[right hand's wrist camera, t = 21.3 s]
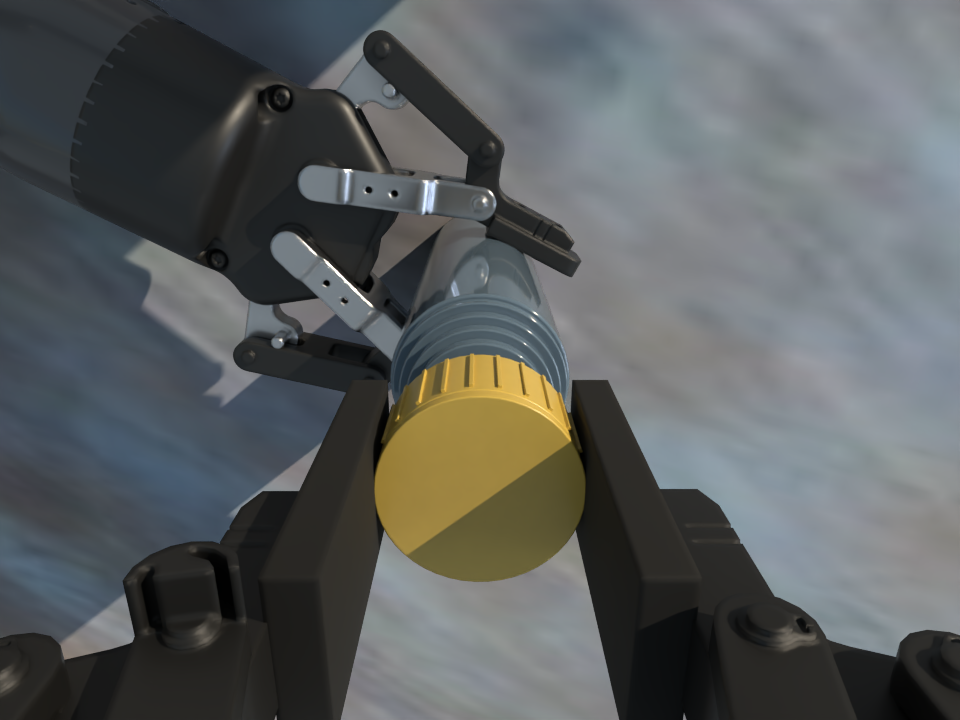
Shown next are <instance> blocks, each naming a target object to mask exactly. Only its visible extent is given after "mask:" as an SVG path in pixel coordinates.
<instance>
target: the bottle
mask: <svg viewBox="0 0 960 720" xmlns="http://www.w3.org/2000/svg"><path fill="white" fill-rule="evenodd" d="M470 354H474V355H492V356H496V355H500V357H503V358H508V359H511V360H514V361H516V362H519V363H520V362H523V363H524V364H525V366H527V367H529V368H531V369H533V370H534V371H535V372H537V373H538V374H540V375H541V376H542V375H544V376H545V377H546V380H547V381H548V382H549V383H550V384H551V385H552V387H553V388H554V389H555V390H556V392H557V393H559V392H560V393H561V395H562V398H563V402H564V404H565V401H566V398H567V394H568V388H569V364H568V360H567V356H566V352H565V349H564V346H563V343H562V341H561V338H560V335H559V332H558V330H557V327H556V324H555V321H554V318H553V316H552V313H551V310H550V307H549V304H548V302H547V299H546V296H545V293H544V290H543V288H542V285H541V282H540V279H539V277H538V274H537V271H536V268H535V265H534V263H533V260H532V257H530V256H528V255H526V254H524V253H522V252H520V251H519V250H517V249H515V248H513V247H511V246H510V245H508V244H505V243H503V242H501V241H499V240H497V239H496V238H494V237H492V236H490V235H488V234H486V226H485V225H483V224H481V223H479V222H477V221H475V220H468V219H461V218H453V219H451V220H450V221H449V222H447V223H446V224H445V225H444V226H443V227H442V228H441V230H440V231H439V233H438V234H437V236H436V238H435V240H434V242H433V245H432V248H431V251H430V253H429V256H428V259H427V262H426V265H425V267H424V270H423V273H422V276H421V279H420V281H419V284H418V287H417V290H416V293H415V295H414V298H413V301H412V304H411V307H410V309H409V312H408V315H407V318H406V321H405V323H404V326H403V329H402V332H401V335H400V337H399V340H398V343H397V346H396V349H395V351H394V354H393V359H392V363H391V373H390V380H391V390H392V394H393V399H394V402H395V404H396V403H397V401H398V399H399V397H400V396H401V394H402V393H403V389H404V387H405V385H409V384H410V383H411V382H412V381H413V380H414V379H415V378H416V377H418V376H419V375H420V374H422V371H423V370H424V369H426V370H427V369H429V368H431V367H433V366H434V365H436V364H439V363H441V362H444V361H445V359H447V358H448V359H453V358H456V357H460V356H468V355H470Z"/></svg>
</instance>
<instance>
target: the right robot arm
mask: <svg viewBox="0 0 960 720" xmlns="http://www.w3.org/2000/svg"><path fill="white" fill-rule="evenodd" d="M571 415H572V418H573V422H574V425H575V428H576V431H577V435H578V438H579V441H580V445H581V448H582V451H583V452H581V453H580V456H581V459H582V463H583V467H584V470H585V475H586V487H585V503H584V511H583V514H582V516H581V519H580V522H579V524H578V526H577V528H576V533H577V538H578V542H579V546H580V551H581V555H582V559H583V564H584V568H585V572H586V577H587V581H588V585H589V590H590V594H591V599H592V603H593V607H594V612H595V616H596V620H597V625H598V629H599V633H600V638H601V642H602V646H603V651H604V655H605V660H606V664H607V668H608V673H609V677H610V681H611V686H612V690H613V694H614V699H615V703H616V708H617V712H618V716H619V720H683V715H684V714H685V716H686V719H687V720H960V635H957V634H954V633H951V632H942V631H933V630H924V631H919V632H914V633H910V634H909V635H908V636H907V637H906V638H904V639H903V640H902V641H901V642H900V645H899V649H898V652H897V656H896V657H893V656H889V655H884V654H880V653H875V652H871V651H867V650H862V649H858V648H853V647H849V646H846V645H842V644H839V643H836V642H832V641H830V640H828V639H826V636H825V634H824V633H823V631H822V630H821V628H820V627H819V625H818V624H817V622H816V621H815V620H814V619H813V618H812V617H811V616H809V615H808V614H807V613H806V612H804V611H803V610H802V609H801V608H799V607H797V606H795V605H793V604H791V603H789V602H787V601H785V600H783V599H781V598H777V597H775V596H774V595H773V593H772V592H771V590H770V588H769V587H768V585H767V583H766V582H765V580H764V578H763V577H762V575H761V573H760V572H759V570H758V569H757V567H756V565H755V564H754V562H753V560H752V559H751V557H750V555H749V554H748V552H747V550H746V549H745V547H744V546H743V544H740V539H739V537H738V536H737V534H736V532H735V531H734V529H733V528H731V526H730V523H729V521H728V519H727V518H726V516H725V514H724V513H723V511H722V509H721V508H720V506H719V505H718V504H717V503H715V502H714V501H713V500H711V499H710V498H708V497H707V496H706V495H704V494H703V493H702V492H700V491H699V490H698V489H659V487H658V485H657V483H656V480H655V478H654V476H653V474H652V472H651V470H650V468H649V466H648V464H647V462H646V459H645V457H644V455H643V453H642V451H641V449H640V447H639V445H638V443H637V441H636V439H635V436H634V434H633V432H632V430H631V428H630V426H629V424H628V422H627V420H626V418H625V415H624V413H623V411H622V409H621V407H620V405H619V403H618V401H617V399H616V397H615V395H614V392H613V390H612V388H611V386H610V384H609V382H608V380H572V398H571ZM388 417H389V401H388V381H387V380H352V382H351V384H350V386H349V388H348V390H347V392H346V394H345V396H344V398H343V400H342V403H341V405H340V407H339V409H338V411H337V413H336V415H335V417H334V419H333V421H332V423H331V426H330V428H329V430H328V432H327V434H326V436H325V438H324V440H323V442H322V444H321V447H320V449H319V451H318V453H317V455H316V457H315V459H314V461H313V463H312V465H311V467H310V470H309V472H308V474H307V476H306V478H305V480H304V482H303V484H302V486H301V488H300V491H262V492H261V493H260V494H258V495H257V496H256V497H254V498H253V499H252V500H250V501H249V502H248V503H246V504H245V505H244V506H242V507H241V508H240V510H239V512H238V513H237V515H236V517H235V518H234V520H233V522H232V523H231V525H230V529H229V530H227V532H226V533H225V535H224V537H223V538H222V540H221V542H220V544H219V543H216V542H188V543H183V544H179V545H174V546H170V547H168V548H165V549H163V550H161V551H158V552H156V553H154V554H151V555H149V556H148V557H146V558H145V559H144V560H142V561H141V562H139V563H138V564H137V565H135V566H134V567H133V568H132V569H131V570H130V572H129V573H128V574H127V576H126V577H125V578H124V580H123V585H124V589H125V594H126V598H127V603H128V607H129V612H130V616H131V621H132V625H133V630H134V634H135V637H134V640H133V642H132V643H130V644H127V645H123V646H120V647H117V648H114V649H110V650H106V651H101V652H97V653H92V654H88V655H84V656H79V657H75V658H71V659H66V660H64V657H63V653H62V649H61V646H60V645H59V644H58V643H57V642H56V641H55V640H54V639H53V638H52V637H51V636H47V635H42V634H37V633H27V634H17V635H10V636H7V637H3V638H0V720H274V719H275V716H277V720H341V715H342V711H343V707H344V702H345V698H346V694H347V689H348V685H349V681H350V676H351V672H352V668H353V663H354V659H355V654H356V650H357V646H358V641H359V637H360V633H361V628H362V624H363V620H364V615H365V611H366V607H367V602H368V598H369V593H370V589H371V585H372V580H373V576H374V572H375V567H376V563H377V559H378V554H379V550H380V546H381V541H382V537H383V532H384V528H383V526H382V524H381V522H380V519H379V517H378V514H377V511H376V506H375V491H374V474H375V470H376V466H377V462H378V458H379V455H380V452H381V448H382V445H383V444H382V443H381V440H382V437H383V433H384V430H385V427H386V423H387V420H388Z"/></svg>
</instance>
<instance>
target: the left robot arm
mask: <svg viewBox="0 0 960 720" xmlns="http://www.w3.org/2000/svg"><path fill="white" fill-rule="evenodd" d="M363 52H364V55H363V56H362V57H361V59H360V60H359V61H358V62H357V64H356V65H355V66H354V68H353V69H352V70H351V72H350V73H349V74H348V76H347V77H346V78H345V80H344V81H343V82H342V83H341V85H340V86H339V87H338V89H337V90H331V89H309V88H305V87H303V86H300V85H298V84H296V83H294V82H292V81H290V80H288V79H287V78H285V77H283V76H281V75H279V74H277V73H275V72H274V71H272V70H270V69H268V68H266V67H264V66H262V65H261V64H259V63H257V62H255V61H253V60H251V59H249V58H247V57H246V56H244V55H242V54H240V53H238V52H236V51H234V50H233V49H231V48H229V47H227V46H225V45H223V44H221V43H220V42H218V41H216V40H214V39H212V38H210V37H208V36H206V35H205V34H203V33H201V32H199V31H197V30H195V29H194V28H192V27H190V26H188V25H186V24H184V23H182V22H180V21H179V20H177V19H174V18H172V17H171V16H169V15H168V13H167V12H165V11H164V10H163V9H161V8H160V7H158V6H157V5H155V4H154V3H152V2H150V1H148V0H0V167H2V168H3V169H5V170H6V171H8V172H10V173H12V174H13V175H15V176H17V177H19V178H21V179H23V180H25V181H27V182H29V183H30V184H33V185H35V186H37V187H39V188H41V189H43V190H45V191H47V192H49V193H51V194H53V195H55V196H58V197H60V198H62V199H64V200H66V201H68V202H70V203H72V204H74V205H76V206H78V207H80V208H83V209H85V210H87V211H89V212H91V213H93V214H95V215H97V216H99V217H101V218H104V219H106V220H108V221H110V222H112V223H114V224H116V225H118V226H120V227H122V228H124V229H126V230H128V231H130V232H133V233H135V234H137V235H139V236H141V237H143V238H145V239H147V240H149V241H151V242H153V243H156V244H158V245H160V246H162V247H164V248H166V249H168V250H170V251H172V252H174V253H176V254H178V255H181V256H183V257H185V258H187V259H189V260H191V261H193V262H195V263H198V264H200V265H203V266H205V267H208V268H210V269H213V270H215V271H218V272H219V273H221V274H223V275H224V276H225V277H227V278H228V279H229V280H230V281H231V282H232V283H233V284H234V285H235V286H236V288H237V289H238V290H239V292H240V293H241V294H242V295H243V296H244V297H245V298H247V299H248V300H249V307H248V315H247V323H246V332H245V338H244V340H243V341H242V342H241V343H240V344H239V345H238V346H237V347H236V348H235V350H234V352H233V358H234V361H235V363H236V364H237V366H238V367H240V368H241V369H243V370H245V371H249V372H254V373H259V374H263V375H268V376H273V377H277V378H282V379H287V380H291V381H296V382H301V383H305V384H310V385H315V386H319V387H324V388H329V389H333V390H338V391H343V392H347V390H348V388H349V386H350V384H351V382H352V380H387V381H388V383H389V382H390V381H391V380H390V373H391V363H392V359H393V354H394V351H395V349H396V346H397V343H398V340H399V337H400V335H401V332H402V329H403V326H404V323H405V321H406V318H407V315H408V312H407V311H406V310H405V309H404V308H403V307H402V306H401V305H400V304H399V303H398V302H397V301H396V300H395V299H394V298H393V297H392V295H391V294H390V291H389V289H388V288H387V287H386V285H385V284H384V283H383V282H382V281H381V280H380V279H379V278H378V277H377V276H376V275H375V274H374V273H373V272H372V271H371V270H372V268H373V266H374V264H375V262H376V260H377V258H378V254H379V248H380V242H381V237H382V236H383V235H384V234H385V233H386V232H387V231H388V229H389V228H390V227H391V226H392V224H393V223H394V222H395V220H396V218H397V215H398V213H399V212H403V213H410V214H418V215H440V216H447V217H454V218H461V219H468V220H475V221H477V222H479V223H481V224H483V225H485V226H486V234H488V235H490V236H492V237H494V238H496V239H497V240H499V241H501V242H503V243H505V244H508V245H510V246H511V247H513V248H515V249H517V250H519V251H520V252H522V253H524V254H526V255H528V256H530V257H532V258H534V259H536V260H538V261H540V262H541V263H543V264H545V265H547V266H549V267H551V268H553V269H555V270H557V271H559V272H561V273H563V274H565V275H567V276H569V277H572V276H573V275H574V273H575V271H576V270H577V268H578V266H579V264H580V263H581V260H580V258H579V257H578V255H577V254H576V253H575V252H573V251H572V250H570V249H571V248H572V246H573V244H574V241H573V239H572V238H571V237H570V235H569V234H568V233H567V232H566V230H565V229H564V228H563V227H562V226H561V225H560V224H558V223H556V222H554V221H552V220H550V219H548V218H547V217H545V216H543V215H541V214H539V213H537V212H536V211H534V210H532V209H530V208H528V207H526V206H524V205H523V204H521V203H519V202H517V201H515V200H513V199H511V198H509V197H508V196H506V195H505V194H504V193H503V192H502V190H501V189H500V186H499V177H500V169H501V162H502V158H503V155H504V144H503V141H502V140H501V138H500V137H499V136H498V135H497V134H496V133H495V132H494V131H493V130H492V129H491V128H490V127H489V126H488V125H487V124H486V123H485V122H484V121H483V120H482V119H481V118H480V117H479V116H477V115H476V114H475V113H474V112H473V111H472V110H471V109H470V108H469V107H468V106H467V105H466V104H465V103H464V102H463V101H462V100H461V99H460V98H459V97H457V96H456V95H455V94H454V93H453V92H452V91H451V90H450V89H449V88H448V87H447V86H446V85H445V84H444V83H443V82H442V81H441V80H440V79H439V78H437V77H436V76H435V75H434V74H433V73H432V72H431V71H430V70H429V69H428V68H427V67H426V66H425V65H424V64H423V63H422V62H421V61H420V60H419V59H418V58H416V57H415V56H414V55H413V54H412V53H411V52H410V51H409V50H408V49H407V48H406V47H405V46H404V45H403V44H402V43H401V42H400V41H398V40H397V39H396V38H395V37H394V36H393V35H392V34H390V33H389V32H386V31H383V30H378V31H374V32H372V33H371V34H369V35H368V37H367V38H366V40H365V42H364V46H363ZM370 102H376V103H378V104H380V105H381V106H383V107H385V108H387V109H400V108H403V107H404V106H405V105H406V104H407V103H408V102H411V103H412V104H413V105H414V106H415V107H416V108H417V109H418V110H419V111H420V112H421V113H422V114H423V115H425V116H426V117H427V118H428V119H429V120H430V121H431V122H432V123H433V124H434V125H435V126H436V127H437V128H439V129H440V130H441V131H442V132H443V133H444V134H445V135H446V136H447V137H448V138H449V139H450V140H451V141H453V142H454V143H455V144H456V145H457V146H458V147H459V148H460V149H461V150H462V151H463V152H464V153H465V154H467V155H468V164H467V172H466V178H460V177H453V176H446V175H440V174H436V173H432V172H426V171H420V170H413V169H406V168H399V167H392V166H391V165H390V163H389V161H388V159H387V157H386V155H385V153H384V151H383V150H382V148H381V146H380V144H379V142H378V140H377V138H376V136H375V134H374V132H373V130H372V129H371V127H370V125H369V123H368V121H367V119H366V117H365V115H364V113H363V111H362V109H361V108H362V107H363V106H364V105H365V104H367V103H370ZM317 298H320V299H321V300H322V301H323V302H324V303H325V304H326V305H327V306H328V307H329V308H330V309H331V310H332V311H334V312H335V313H336V314H337V315H338V316H339V317H340V318H341V319H342V320H343V321H344V322H345V323H346V324H347V325H348V326H349V327H350V328H352V329H353V330H355V331H357V332H361V333H362V334H364V335H365V336H366V337H367V338H368V339H369V340H370V341H371V342H372V343H373V344H374V345H375V346H376V347H375V348H374V347H369V346H365V345H360V344H356V343H351V342H347V341H342V340H338V339H333V338H329V337H324V336H319V335H315V334H310V333H306V332H303V328H302V325H301V324H300V322H299V321H298V320H296V319H295V318H292V317H290V316H288V315H286V314H285V313H284V312H283V311H282V310H281V308H280V305H279V304H282V303H289V302H296V301H303V300H310V299H317ZM344 298H347V299H348V300H345V299H344Z"/></svg>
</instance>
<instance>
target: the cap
mask: <svg viewBox="0 0 960 720" xmlns="http://www.w3.org/2000/svg"><path fill="white" fill-rule="evenodd" d="M381 443H382V444H383V445H382V448H381V452H380V455H379V458H378V462H377V466H376V470H375V474H374V491H375V506H376V511H377V514H378V517H379V519H380V522H381V524H382V526H383V528H384V530H385V531H386V533H387V535H388V536H389V538H390V539H391V540H392V542H393V543H394V544H395V545H396V547H397V548H398V549H399V550H400V551H401V552H402V553H403V554H405V555H406V556H407V557H408V558H410V559H411V560H412V561H413V562H415V563H417V564H418V565H420V566H422V567H423V568H425V569H427V570H429V571H432V572H434V573H436V574H439V575H442V576H445V577H448V578H452V579H457V580H462V581H472V582H489V581H497V580H503V579H507V578H512V577H515V576H518V575H521V574H524V573H526V572H528V571H531V570H533V569H535V568H537V567H538V566H540V565H542V564H543V563H545V562H546V561H548V560H549V559H550V558H552V557H553V556H554V555H555V554H556V553H558V552H559V551H560V549H561V548H562V547H563V546H564V545H565V544H566V543H567V542H568V540H569V539H570V537H571V536H572V535H573V533H574V531H575V530H576V528H577V526H578V524H579V522H580V519H581V516H582V514H583V511H584V503H585V487H586V475H585V470H584V467H583V463H582V459H581V456H580V453H581V452H583V451H582V448H581V445H580V441H579V438H578V435H577V431H576V428H575V425H574V422H573V418H572V415H571V413H568V412H567V410H566V407H565V405H564V402H563V398H562V395H561V393H560V392H559V393H557V392H556V390H555V389H554V388H553V387H552V385H551V384H550V383H549V382H548V381H547V380H546V377H545V376H544V375H542V376H541V375H540V374H538V373H537V372H535V371H534V370H533V369H531V368H529V367H527V366H525V364H524V363H523V362H520V363H519V362H516V361H514V360H511V359H508V358H503V357H500V355H496V356H492V355H474V354H470V355H468V356H460V357H456V358H453V359H448V358H447V359H445V361H444V362H441V363H439V364H436V365H434V366H433V367H431V368H429V369H427V370H426V369H424V370H423V371H422V374H420V375H419V376H418V377H416V378H415V379H414V380H413V381H412V382H411V383H410V384H409V385H405V387H404V389H403V393H402V394H401V396H400V397H399V399H398V401H397V403H396V404H395V405H394V404H393V405H392V407H391V410H390V413H389V417H388V420H387V423H386V427H385V430H384V433H383V437H382V440H381Z"/></svg>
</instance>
